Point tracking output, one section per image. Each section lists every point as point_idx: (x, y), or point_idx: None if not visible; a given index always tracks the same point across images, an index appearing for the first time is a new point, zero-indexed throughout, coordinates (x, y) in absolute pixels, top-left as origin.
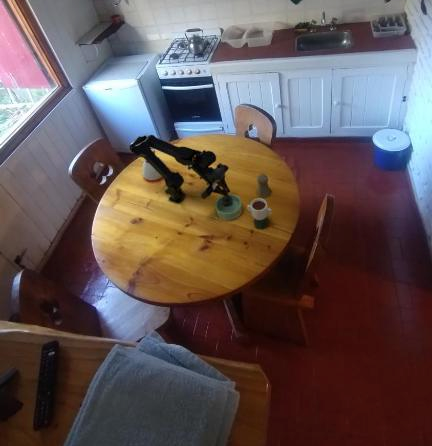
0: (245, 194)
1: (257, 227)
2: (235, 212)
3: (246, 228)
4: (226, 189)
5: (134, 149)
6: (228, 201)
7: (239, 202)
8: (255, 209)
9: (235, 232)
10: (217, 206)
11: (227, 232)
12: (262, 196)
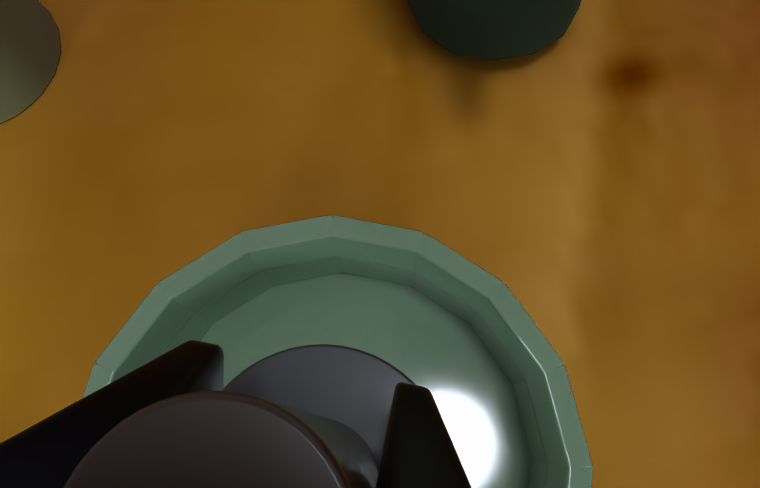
0: (7, 290)
1: (579, 5)
2: (495, 279)
3: (603, 144)
4: (296, 415)
5: None
6: (380, 424)
7: (213, 305)
8: None
9: (708, 266)
10: None
11: (746, 376)
12: (53, 53)
